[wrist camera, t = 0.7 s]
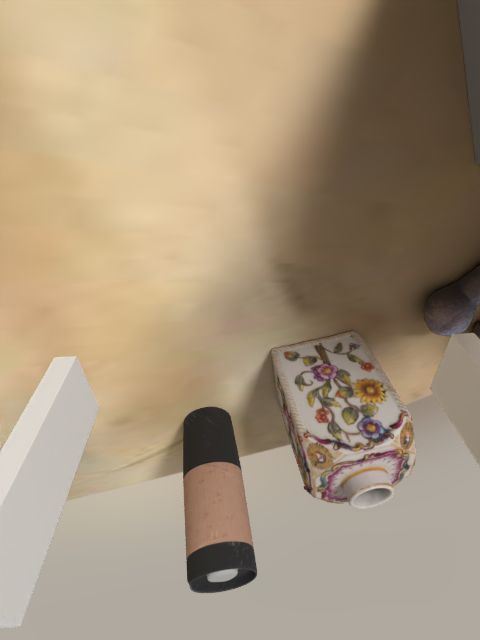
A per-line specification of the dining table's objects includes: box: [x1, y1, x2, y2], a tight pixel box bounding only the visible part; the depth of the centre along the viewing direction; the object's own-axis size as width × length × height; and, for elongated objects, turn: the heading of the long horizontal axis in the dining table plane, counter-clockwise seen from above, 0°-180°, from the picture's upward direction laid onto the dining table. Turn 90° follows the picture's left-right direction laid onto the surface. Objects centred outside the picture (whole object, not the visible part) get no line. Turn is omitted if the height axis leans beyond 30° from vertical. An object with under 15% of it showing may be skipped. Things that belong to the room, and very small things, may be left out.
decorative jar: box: [271, 331, 416, 508], centre depth 41 cm, size 12×12×18 cm
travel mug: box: [183, 407, 257, 593], centre depth 44 cm, size 8×8×20 cm
